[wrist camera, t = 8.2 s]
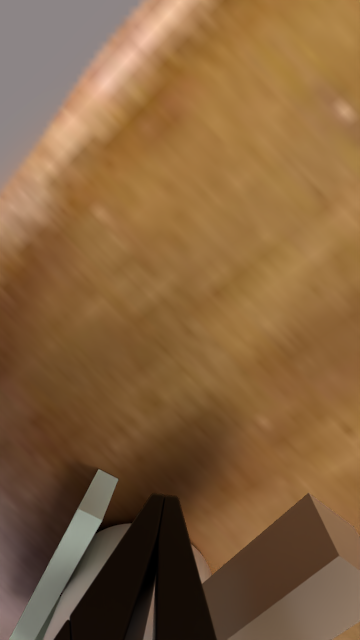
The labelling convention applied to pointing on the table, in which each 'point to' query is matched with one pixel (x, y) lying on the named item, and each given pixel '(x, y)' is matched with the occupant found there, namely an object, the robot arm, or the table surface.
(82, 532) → the u-shaped frame
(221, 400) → the table surface
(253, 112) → the table surface
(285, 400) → the table surface
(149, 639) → the saucepan
